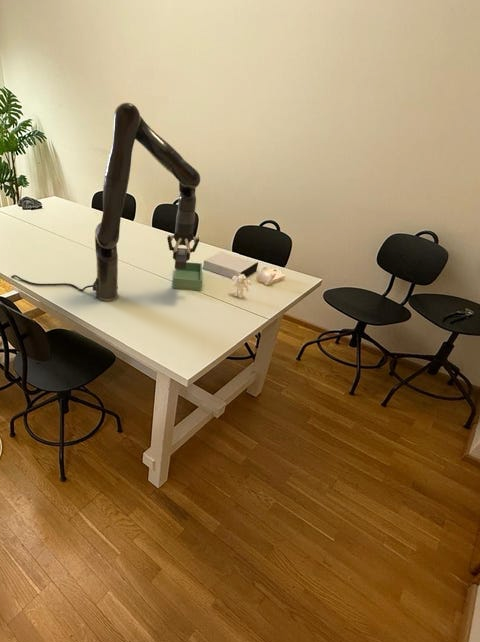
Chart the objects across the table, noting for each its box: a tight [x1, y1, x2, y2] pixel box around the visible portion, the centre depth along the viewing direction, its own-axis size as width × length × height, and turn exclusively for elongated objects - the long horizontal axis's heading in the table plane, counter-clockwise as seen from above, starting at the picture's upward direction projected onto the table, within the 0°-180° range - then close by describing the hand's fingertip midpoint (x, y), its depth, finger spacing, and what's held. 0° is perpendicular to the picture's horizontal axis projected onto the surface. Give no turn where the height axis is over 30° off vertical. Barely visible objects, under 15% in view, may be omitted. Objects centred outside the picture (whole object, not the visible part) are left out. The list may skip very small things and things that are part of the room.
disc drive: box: [202, 251, 259, 279], centre depth 195 cm, size 18×22×5 cm
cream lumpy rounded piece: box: [255, 265, 286, 286], centre depth 185 cm, size 13×7×8 cm, turn 124°
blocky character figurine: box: [231, 272, 252, 299], centre depth 169 cm, size 9×4×12 cm, turn 53°
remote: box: [174, 247, 187, 270], centre depth 161 cm, size 5×16×3 cm, turn 171°
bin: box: [172, 261, 203, 292], centre depth 184 cm, size 13×21×5 cm, turn 171°
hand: (180, 259), depth 162 cm, fingers closed on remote, 4 cm apart
